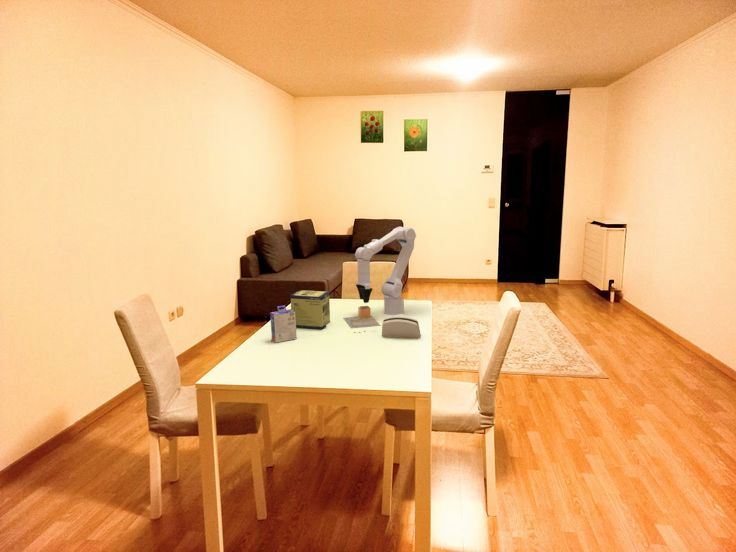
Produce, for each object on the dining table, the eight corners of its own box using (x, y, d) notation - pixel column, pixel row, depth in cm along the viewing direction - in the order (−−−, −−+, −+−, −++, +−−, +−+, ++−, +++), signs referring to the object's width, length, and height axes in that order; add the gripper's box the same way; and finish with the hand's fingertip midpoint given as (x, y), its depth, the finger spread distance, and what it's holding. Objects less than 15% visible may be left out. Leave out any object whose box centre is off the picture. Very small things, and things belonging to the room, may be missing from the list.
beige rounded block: (421, 334, 223) (420, 315, 218) (420, 340, 219) (419, 321, 214) (383, 332, 226) (381, 313, 221) (381, 339, 222) (379, 320, 217)
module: (368, 316, 249) (368, 305, 248) (370, 318, 245) (370, 307, 244) (358, 317, 248) (358, 306, 247) (360, 319, 244) (360, 308, 243)
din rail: (373, 321, 241) (373, 317, 240) (376, 325, 234) (376, 321, 234) (350, 322, 238) (350, 319, 238) (353, 327, 232) (353, 323, 231)
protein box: (323, 330, 231) (321, 296, 228) (291, 327, 236) (289, 294, 233) (330, 323, 241) (329, 291, 238) (300, 321, 246) (298, 289, 243)
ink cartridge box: (292, 335, 224) (291, 303, 221) (297, 339, 219) (296, 306, 216) (270, 339, 219) (269, 306, 216) (275, 343, 214) (273, 309, 211)
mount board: (371, 317, 250) (371, 315, 250) (381, 327, 233) (380, 325, 233) (342, 319, 247) (342, 317, 247) (350, 330, 230) (350, 328, 230)
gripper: (352, 270, 248) (352, 297, 251) (359, 276, 234) (359, 305, 237) (366, 269, 250) (366, 296, 252) (373, 275, 236) (374, 303, 239)
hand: (364, 300), depth 245 cm, fingers open, 7 cm apart
